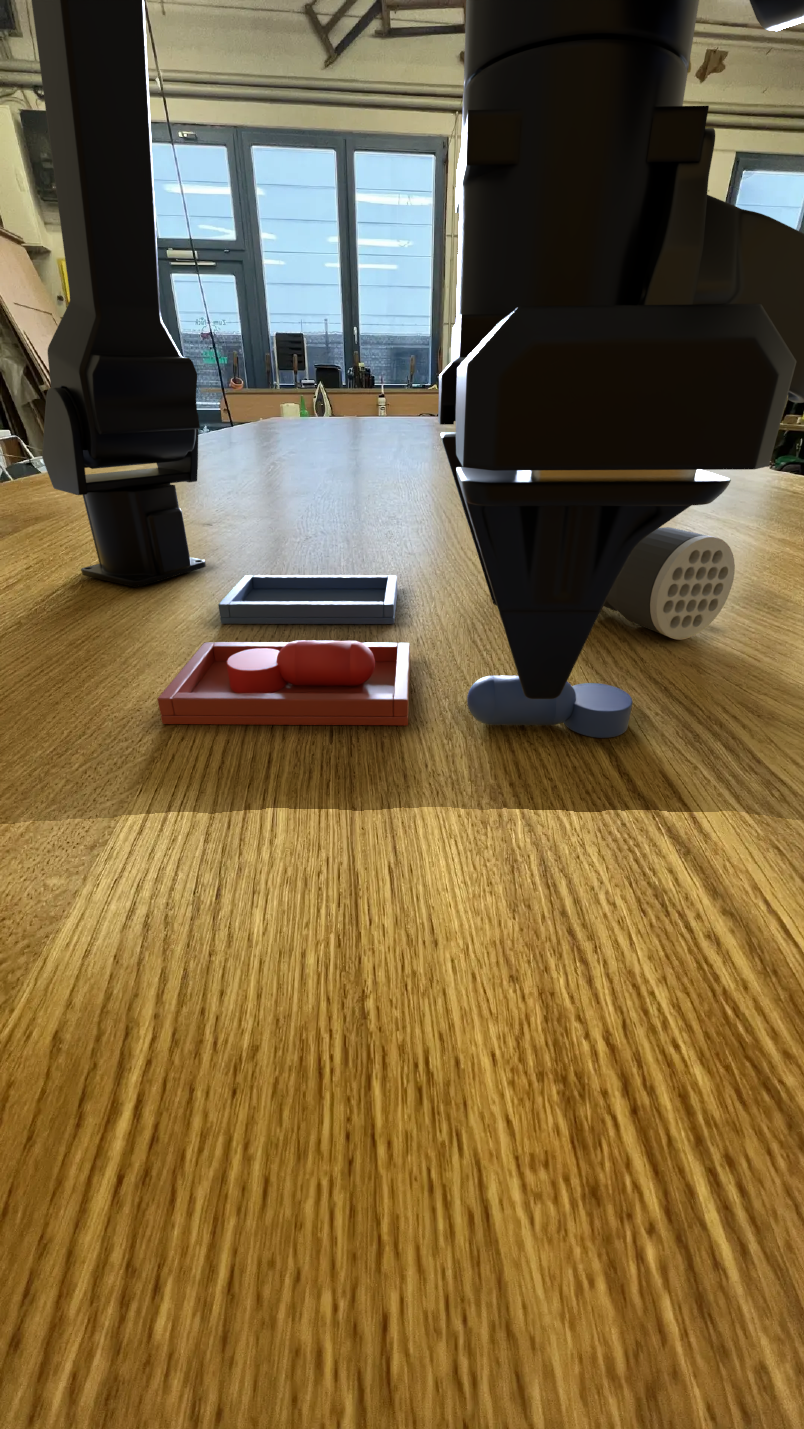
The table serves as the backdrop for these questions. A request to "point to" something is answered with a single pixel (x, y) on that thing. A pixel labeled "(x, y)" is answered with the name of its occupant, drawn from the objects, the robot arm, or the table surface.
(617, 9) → the robot arm
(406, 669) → the red tray
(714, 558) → the flashlight
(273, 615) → the blue tray
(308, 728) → the table surface
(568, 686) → the blue capsule with disc
